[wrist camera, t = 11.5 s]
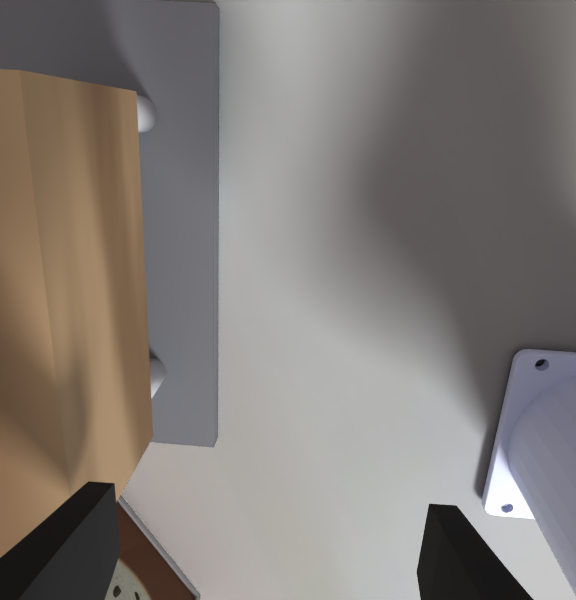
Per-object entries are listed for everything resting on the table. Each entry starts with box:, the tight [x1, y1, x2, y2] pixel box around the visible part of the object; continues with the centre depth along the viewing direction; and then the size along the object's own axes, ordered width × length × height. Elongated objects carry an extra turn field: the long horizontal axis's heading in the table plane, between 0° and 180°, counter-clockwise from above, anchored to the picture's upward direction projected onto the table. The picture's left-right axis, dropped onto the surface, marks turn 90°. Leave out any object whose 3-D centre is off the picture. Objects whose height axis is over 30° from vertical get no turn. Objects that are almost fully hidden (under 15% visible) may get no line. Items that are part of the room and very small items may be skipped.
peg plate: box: [0, 0, 219, 447], centre depth 18 cm, size 8×17×3 cm, turn 177°
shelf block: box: [0, 69, 153, 558], centre depth 14 cm, size 4×12×6 cm, turn 177°
